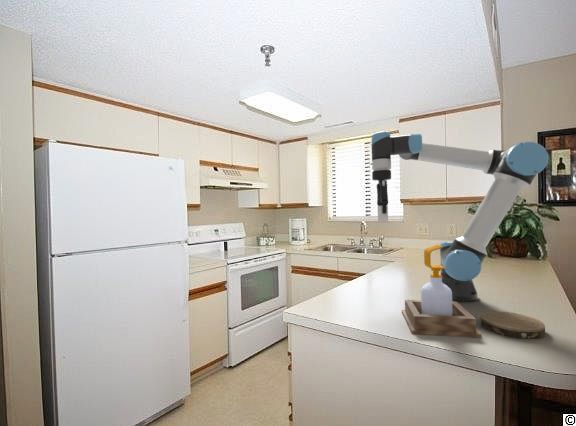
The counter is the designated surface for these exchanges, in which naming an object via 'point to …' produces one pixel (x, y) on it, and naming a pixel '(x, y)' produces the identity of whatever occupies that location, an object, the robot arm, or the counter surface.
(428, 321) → the walnut caddy
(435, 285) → the soap bottle
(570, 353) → the counter surface
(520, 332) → the wood slice
